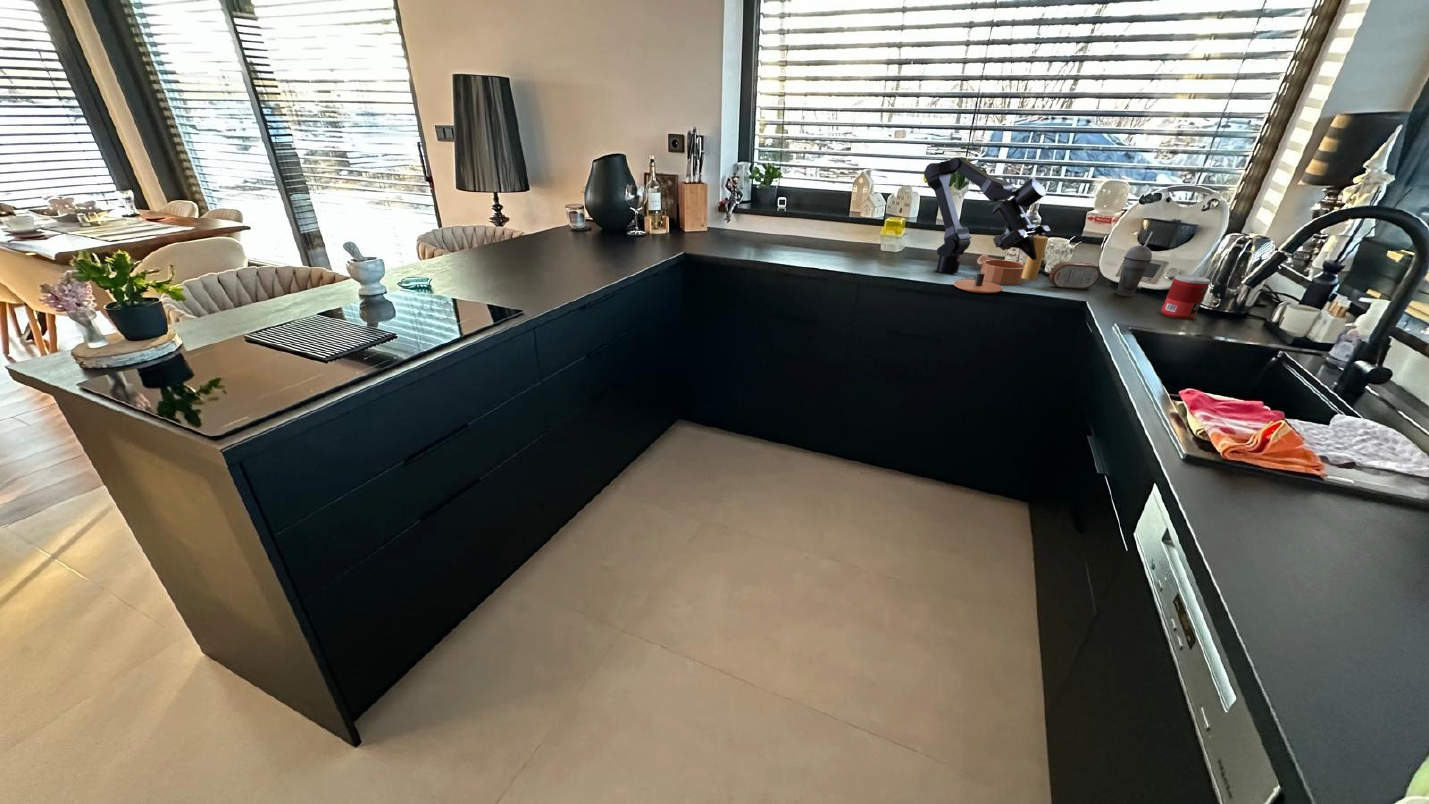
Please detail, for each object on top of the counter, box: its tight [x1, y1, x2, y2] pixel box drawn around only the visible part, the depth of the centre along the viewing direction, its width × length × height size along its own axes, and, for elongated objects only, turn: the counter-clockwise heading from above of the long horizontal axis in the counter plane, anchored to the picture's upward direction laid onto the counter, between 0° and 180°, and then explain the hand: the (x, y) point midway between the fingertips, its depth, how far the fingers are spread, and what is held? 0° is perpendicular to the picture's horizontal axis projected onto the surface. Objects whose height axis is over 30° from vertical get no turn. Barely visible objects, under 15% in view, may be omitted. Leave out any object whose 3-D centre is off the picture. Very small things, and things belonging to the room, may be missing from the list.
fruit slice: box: [976, 253, 997, 268], centre depth 206 cm, size 8×7×5 cm
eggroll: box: [1021, 235, 1049, 281], centre depth 176 cm, size 4×4×13 cm
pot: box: [979, 258, 1025, 286], centre depth 193 cm, size 14×14×6 cm
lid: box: [953, 271, 1003, 294], centre depth 182 cm, size 15×15×5 cm
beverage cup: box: [1116, 231, 1154, 298], centre depth 176 cm, size 7×7×20 cm
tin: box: [1048, 261, 1101, 290], centre depth 184 cm, size 15×3×8 cm, turn 84°
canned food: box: [1161, 274, 1211, 320], centre depth 159 cm, size 8×8×11 cm
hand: (1038, 258), depth 175 cm, fingers closed on eggroll, 4 cm apart
